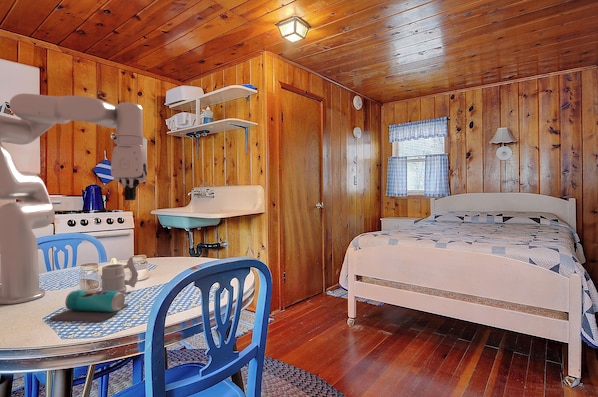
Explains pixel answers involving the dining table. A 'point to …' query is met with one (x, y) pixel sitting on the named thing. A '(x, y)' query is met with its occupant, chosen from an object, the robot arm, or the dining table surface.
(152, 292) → the dining table surface
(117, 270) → the mug
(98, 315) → the mat
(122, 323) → the dining table surface
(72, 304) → the beverage can
